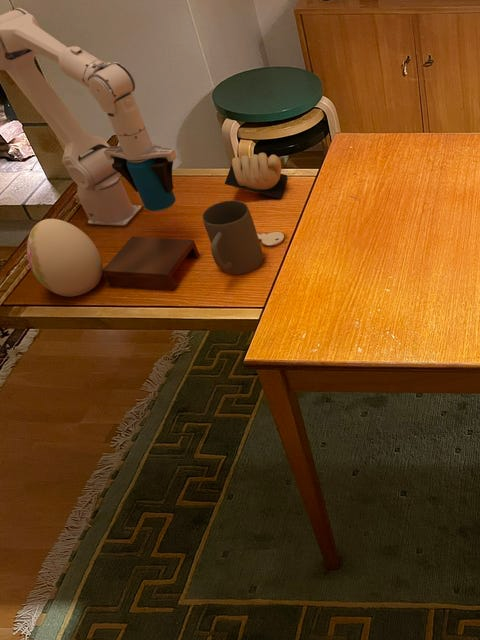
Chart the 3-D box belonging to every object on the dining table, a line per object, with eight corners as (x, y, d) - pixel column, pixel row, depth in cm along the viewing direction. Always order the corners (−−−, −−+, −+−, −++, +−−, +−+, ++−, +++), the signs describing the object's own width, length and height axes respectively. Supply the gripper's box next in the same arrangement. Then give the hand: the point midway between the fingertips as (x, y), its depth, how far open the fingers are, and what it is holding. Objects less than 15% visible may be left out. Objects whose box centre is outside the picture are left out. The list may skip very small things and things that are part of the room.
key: (288, 233, 154) (274, 246, 151) (288, 235, 155) (275, 247, 151) (247, 224, 158) (233, 237, 155) (247, 225, 158) (233, 238, 155)
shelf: (110, 286, 145) (101, 270, 142) (139, 251, 153) (131, 236, 150) (174, 290, 143) (167, 274, 140) (199, 255, 151) (193, 239, 148)
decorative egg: (61, 267, 150) (26, 205, 140) (119, 265, 150) (88, 203, 140) (36, 304, 141) (-3, 241, 131) (97, 302, 141) (62, 238, 131)
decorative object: (292, 148, 168) (286, 172, 161) (285, 184, 175) (279, 208, 168) (236, 133, 164) (227, 156, 158) (231, 170, 171) (223, 194, 164)
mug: (229, 248, 152) (211, 199, 144) (270, 249, 151) (255, 200, 143) (204, 288, 143) (184, 238, 134) (248, 289, 142) (230, 239, 133)
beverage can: (181, 197, 156) (161, 146, 148) (170, 213, 151) (149, 162, 143) (152, 198, 156) (131, 147, 148) (141, 214, 152) (118, 162, 144)
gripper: (173, 120, 144) (194, 181, 153) (106, 119, 146) (132, 179, 155) (156, 137, 139) (180, 198, 148) (88, 135, 141) (116, 196, 150)
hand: (154, 189), depth 151 cm, fingers closed on beverage can, 6 cm apart
